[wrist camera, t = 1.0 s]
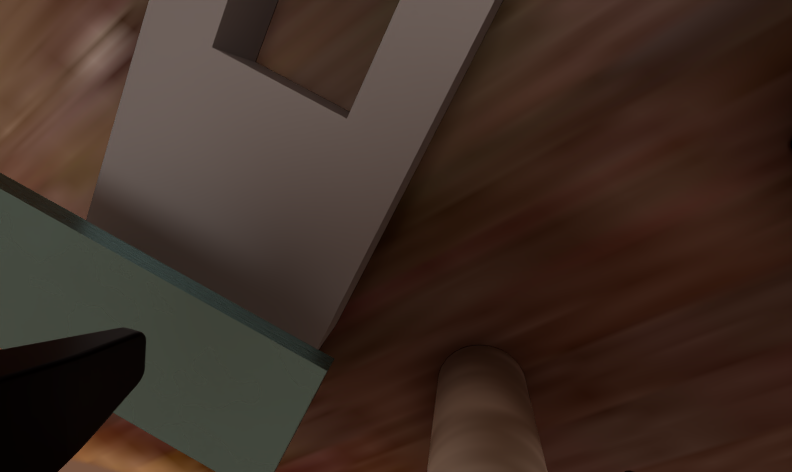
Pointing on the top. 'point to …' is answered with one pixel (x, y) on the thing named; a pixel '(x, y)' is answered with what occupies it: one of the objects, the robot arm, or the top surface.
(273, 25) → the top surface
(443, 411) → the peg
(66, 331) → the green raised slab
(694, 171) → the top surface
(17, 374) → the robot arm
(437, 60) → the socket
